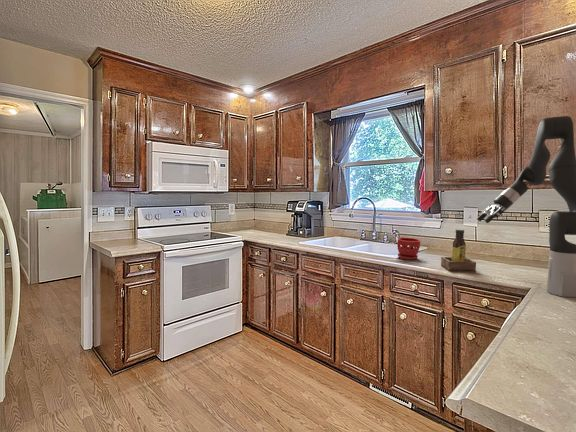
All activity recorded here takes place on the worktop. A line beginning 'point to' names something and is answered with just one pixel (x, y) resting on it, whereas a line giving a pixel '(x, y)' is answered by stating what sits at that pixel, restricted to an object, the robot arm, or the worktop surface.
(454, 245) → the sauce bottle
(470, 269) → the brown wooden tray
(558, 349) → the worktop surface
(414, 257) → the plant pot
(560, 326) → the worktop surface
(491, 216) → the robot arm
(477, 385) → the worktop surface
